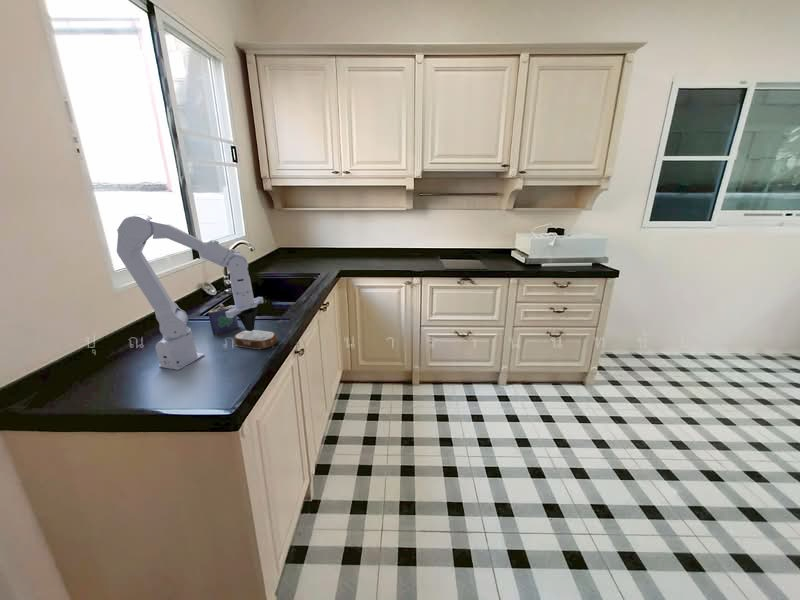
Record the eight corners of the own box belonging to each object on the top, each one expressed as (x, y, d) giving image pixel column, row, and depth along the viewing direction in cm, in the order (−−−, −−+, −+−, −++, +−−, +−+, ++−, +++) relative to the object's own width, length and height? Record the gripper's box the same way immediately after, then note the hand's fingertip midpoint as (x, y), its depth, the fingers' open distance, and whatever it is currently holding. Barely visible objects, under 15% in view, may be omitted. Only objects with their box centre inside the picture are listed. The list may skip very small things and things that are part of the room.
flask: (237, 326, 129) (231, 300, 125) (240, 328, 127) (235, 301, 123) (212, 334, 122) (205, 307, 119) (215, 336, 121) (208, 308, 117)
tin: (266, 350, 108) (282, 340, 116) (265, 340, 107) (281, 331, 115) (228, 344, 113) (247, 336, 120) (227, 336, 112) (246, 327, 120)
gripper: (235, 299, 99) (244, 341, 104) (268, 285, 112) (274, 322, 116) (216, 297, 101) (226, 338, 106) (250, 284, 114) (257, 321, 119)
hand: (250, 330), depth 111 cm, fingers closed
